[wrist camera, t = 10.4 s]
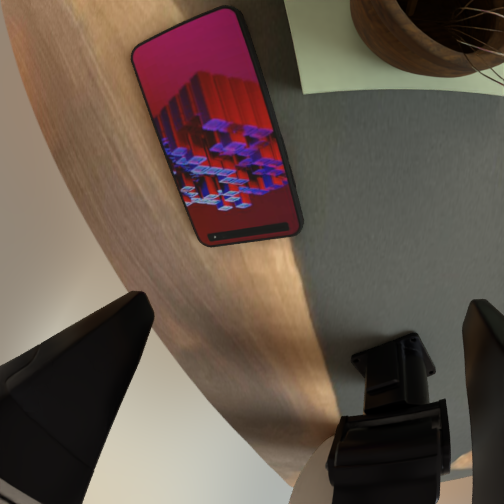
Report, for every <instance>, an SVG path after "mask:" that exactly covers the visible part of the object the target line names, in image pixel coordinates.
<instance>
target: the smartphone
mask: <svg viewBox="0 0 504 504" xmlns="http://www.w3.org/2000/svg"><path fill="white" fill-rule="evenodd" d="M131 62H132V65H133V68H134V71H135V74H136V77H137V80H138V83H139V86H140V89H141V91H142V94H143V97H144V100H145V103H146V106H147V108H148V111H149V114H150V117H151V120H152V122H153V125H154V128H155V131H156V133H157V136H158V139H159V141H160V144H161V147H162V150H163V152H164V155H165V158H166V160H167V163H168V165H169V168H170V171H171V173H172V176H173V178H174V181H175V184H176V186H177V189H178V191H179V194H180V196H181V199H182V201H183V204H184V206H185V209H186V211H187V214H188V216H189V219H190V221H191V224H192V226H193V229H194V231H195V234H196V236H197V238H198V240H199V241H200V243H202V244H203V245H204V246H207V247H218V246H225V245H233V244H240V243H247V242H255V241H263V240H270V239H278V238H285V237H293V236H296V235H297V234H299V233H300V232H301V230H302V228H303V224H304V219H303V215H302V210H301V207H300V203H299V199H298V195H297V191H296V185H295V181H294V178H293V174H292V170H291V166H290V165H289V161H288V155H287V152H286V148H285V145H284V141H283V138H282V136H281V132H280V129H279V126H278V122H277V119H276V115H275V112H274V109H273V105H272V102H271V99H270V96H269V92H268V89H267V86H266V83H265V80H264V76H263V73H262V70H261V67H260V64H259V61H258V58H257V55H256V52H255V49H254V46H253V43H252V40H251V37H250V34H249V31H248V28H247V25H246V23H245V20H244V17H243V14H242V13H241V11H239V10H238V9H237V8H235V7H233V6H228V5H224V6H220V7H218V8H215V9H212V10H210V11H207V12H205V13H202V14H200V15H198V16H195V17H193V18H191V19H188V20H186V21H184V22H182V23H179V24H177V25H175V26H173V27H171V28H169V29H167V30H165V31H163V32H161V33H159V34H157V35H155V36H153V37H151V38H149V39H147V40H145V41H143V42H142V43H140V44H138V45H137V46H136V47H135V48H134V49H133V51H132V53H131Z"/></svg>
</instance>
